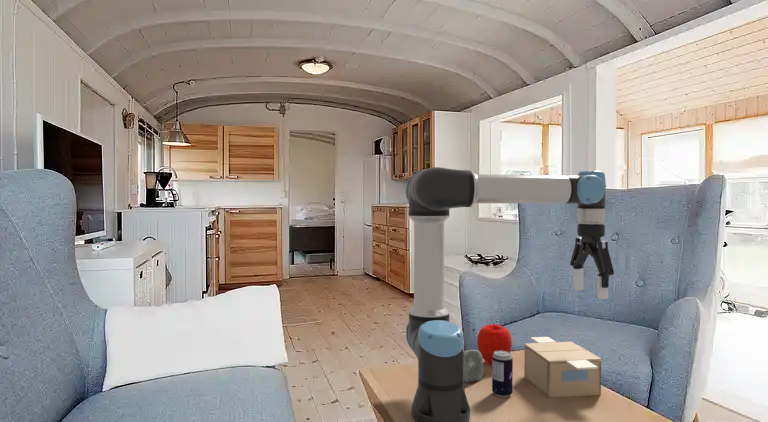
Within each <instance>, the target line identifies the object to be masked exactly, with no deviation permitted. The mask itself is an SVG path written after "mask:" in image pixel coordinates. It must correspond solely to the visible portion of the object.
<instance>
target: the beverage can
mask: <svg viewBox="0 0 768 422" xmlns="http://www.w3.org/2000/svg"><path fill="white" fill-rule="evenodd" d="M513 359H514V358H513V356H512V353H511V351H510V352H507V351H495V352H494V355H493V356H492V366H491V368H492V369H491V370H492V371H491V380H492V381H491V391H492V393H493V394H494V395H495V396H496V397H499V398H509V397H510V395H512V394H513V373H514V372H513V368H514V367H513V365H514V364H513V363H514V362H513V361H514V360H513Z"/></svg>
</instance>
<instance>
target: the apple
mask: <svg viewBox="0 0 768 422" xmlns="http://www.w3.org/2000/svg"><path fill="white" fill-rule="evenodd" d="M476 338H477V340H476V341H477V342H476V344H477V345H476V346H477V350H478V351H479V352H480V353H481V355H482V358H483V361H485V364H487V365H489V366H491V367H492V356H493V355H494V352H495V351H507V352H510V353H511V350H512V345H513V344H512V343H513V342H512V341H513V340H512V335H511V333H510V330H509V329H508V328H506V327H504V326H503V325H499V324H486V325H484V326H482V327H481V328H480V330H479V332H478V334H477V337H476Z"/></svg>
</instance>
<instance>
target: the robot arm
mask: <svg viewBox="0 0 768 422" xmlns="http://www.w3.org/2000/svg"><path fill="white" fill-rule="evenodd" d="M606 181H607V180H606V174H605V172H604V171H602V170H584V171H579V172H578V174H577V175H563V174H560V175H557V174H553V175H551V174H546V175H545V174H485V173H483V174H481V173H480V174H477V173H475V172H473V170H469V169H468V170H466V169H465V170H463V169H453V168H446V167H438V166H437V167H434V166H433V167H428V168H424V169H420V170H417V172H415V173H414V174H413V175H412V176H410V177H409V179H408V181H407V182H406V183H407V184H406V186H405V195H406V199H407V202H408V217H409V219H411V221H412V222H413V306H411V308H409V310H408V322H407V325H406V329H405V338H406V342H407V344H408V346H409V347H410V350H412V352H413V353H414V354H415V356H416V358H417V363H418V364H417V365H418V366H417V373H418V374H417V375H418V376H417V378H418V379H417V380H418V381H417V383H418V384H417V388H416V390H415V394H414V397H413V400H412V403H411V418H412V419H413V420H414V421H415V422H469V421H470V419H471V407H470V404H469V401H468V398H467V397H468V396H467V394H466V391H465V389H464V381H463V355H464V351H465V349H464V347H465V339H464V332H463V329H462V327H460V326H459V325H458V324H456V323H454V322H450V311H449V309H448V308H447V307H446V306H445V222H446V221H447V220H448V219H449V218H450V209H457V208H472V207H473V205H474V204H570V205H571V204H573V205H574V204H575V205H577V222H578V223H577V227H576V228H577V231H576V232H577V236H578V237H575V242H574V243H575V244H574V246H573V247H574V248H573V252H572V254H571V259H570V263H569V264H570V266H571V267H572V268H573V270H574V271H573V290H574V291H583V290H584V288H585V287H584V284H585V283H584V279H585V278H584V271H585V270H584V269H585V268H584V264H585V262H586V260H587V259H588V257H589V256H590V257H591V258H593V261H594V263H595V266H596V269H597V271H598V274H597V299H598V300H608V299H609V286H610V285H609V282H610V280H609V279H610V278H609V277H611V276H614V274H615V272H614V267H613V263H612V259H611V256H610V251H609V243H608V241H607V240H601V239H602V237H605V235H606V225H605V224H604V223H605V222H606V221H605V220H606V219H605V218H606V188H607V185H606Z"/></svg>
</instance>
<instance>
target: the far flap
mask: <svg viewBox="0 0 768 422" xmlns="http://www.w3.org/2000/svg"><path fill="white" fill-rule="evenodd" d="M530 340H532V341H533V342H531V343H530V342H527V343H524V347H525V346H526V347H528V348H529V349H531V350H532V351H533V352H535V353H536V352H548V351H571V350H586V349H585V348H584V347H582V346H580V345H578V344H576V343H575V342H573V341H556V340H555V339H552V338H551V337H549V336H536V337H530Z"/></svg>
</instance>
